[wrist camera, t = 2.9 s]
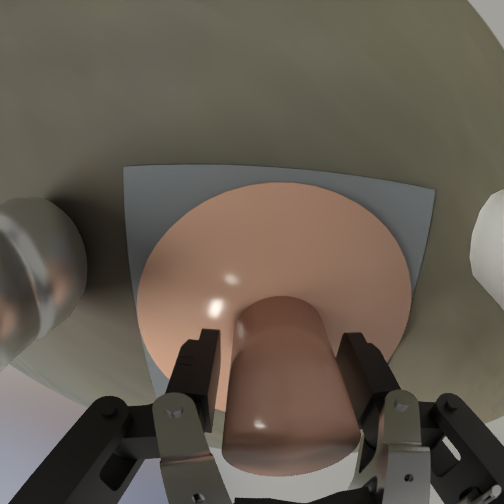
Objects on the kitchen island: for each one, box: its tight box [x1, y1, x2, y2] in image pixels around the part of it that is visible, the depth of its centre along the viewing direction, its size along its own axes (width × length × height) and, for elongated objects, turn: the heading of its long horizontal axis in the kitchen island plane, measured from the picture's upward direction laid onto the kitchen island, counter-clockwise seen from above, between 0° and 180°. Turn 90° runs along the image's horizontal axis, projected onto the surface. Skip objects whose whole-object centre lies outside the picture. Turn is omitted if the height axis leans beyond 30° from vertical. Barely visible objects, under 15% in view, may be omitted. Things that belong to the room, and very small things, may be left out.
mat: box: [123, 164, 435, 398], centre depth 13 cm, size 14×14×1 cm
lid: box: [137, 181, 411, 476], centre depth 9 cm, size 13×13×7 cm
